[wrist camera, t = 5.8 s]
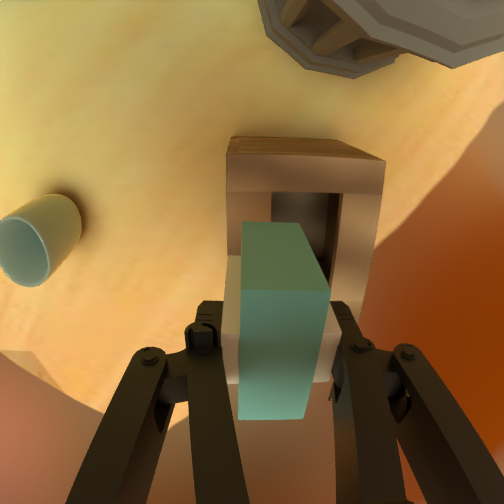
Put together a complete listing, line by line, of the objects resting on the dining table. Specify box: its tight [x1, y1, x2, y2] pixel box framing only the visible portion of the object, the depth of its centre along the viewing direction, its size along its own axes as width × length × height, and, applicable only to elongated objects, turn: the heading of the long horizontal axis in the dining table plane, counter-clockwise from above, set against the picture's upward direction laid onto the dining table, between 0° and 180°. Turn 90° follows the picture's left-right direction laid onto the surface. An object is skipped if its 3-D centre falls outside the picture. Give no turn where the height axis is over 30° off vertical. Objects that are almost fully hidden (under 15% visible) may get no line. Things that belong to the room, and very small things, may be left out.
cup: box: [0, 194, 82, 287], centre depth 29 cm, size 8×8×10 cm
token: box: [238, 221, 331, 420], centre depth 15 cm, size 7×3×7 cm, turn 178°
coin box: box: [226, 137, 386, 324], centre depth 29 cm, size 14×11×12 cm
